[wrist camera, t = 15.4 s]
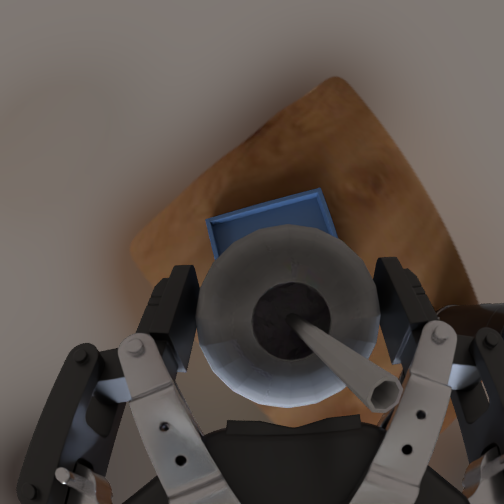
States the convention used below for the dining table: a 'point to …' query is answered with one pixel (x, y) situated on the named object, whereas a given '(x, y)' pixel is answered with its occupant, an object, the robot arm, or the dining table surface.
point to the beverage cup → (293, 320)
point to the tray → (270, 218)
